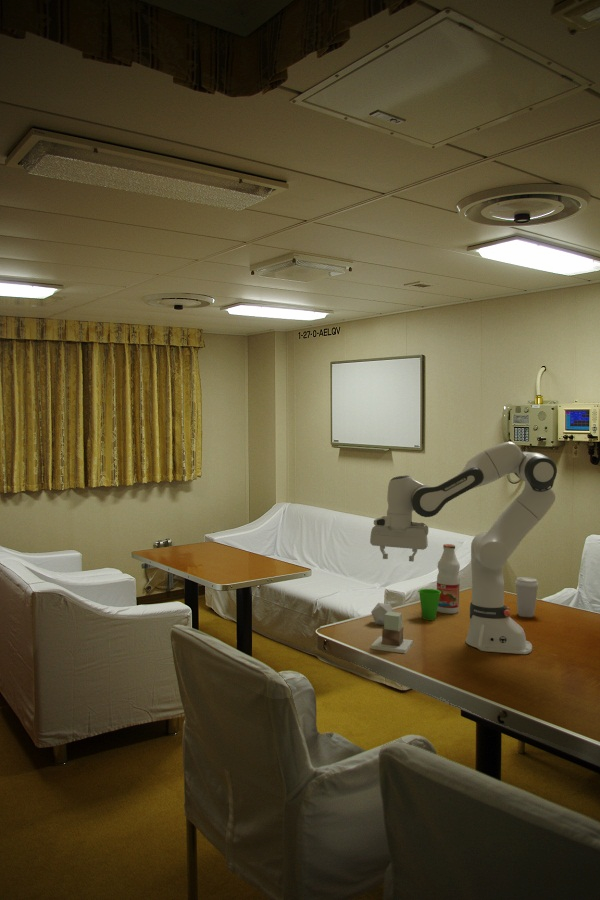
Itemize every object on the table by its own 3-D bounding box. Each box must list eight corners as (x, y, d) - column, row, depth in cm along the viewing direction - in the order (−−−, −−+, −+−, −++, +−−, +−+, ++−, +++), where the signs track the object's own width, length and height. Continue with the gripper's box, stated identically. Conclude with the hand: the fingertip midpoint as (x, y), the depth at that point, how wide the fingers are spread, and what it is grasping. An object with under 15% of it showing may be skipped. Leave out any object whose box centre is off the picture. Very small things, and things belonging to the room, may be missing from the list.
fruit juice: (463, 611, 284) (465, 545, 283) (451, 615, 277) (452, 547, 276) (443, 607, 290) (445, 542, 290) (431, 610, 284) (433, 544, 283)
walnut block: (403, 641, 236) (403, 627, 236) (399, 646, 230) (399, 631, 230) (386, 639, 238) (386, 624, 238) (382, 643, 232) (382, 629, 232)
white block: (380, 629, 256) (396, 609, 256) (364, 615, 260) (379, 595, 261) (386, 632, 263) (401, 612, 263) (370, 618, 267) (385, 599, 268)
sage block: (401, 627, 235) (401, 612, 235) (398, 630, 231) (398, 616, 231) (387, 625, 237) (387, 611, 237) (384, 629, 233) (384, 614, 233)
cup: (423, 614, 278) (424, 587, 278) (444, 618, 272) (444, 591, 272) (413, 618, 270) (414, 591, 270) (434, 622, 265) (435, 595, 265)
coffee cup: (511, 611, 285) (512, 576, 285) (535, 612, 284) (536, 577, 284) (516, 617, 276) (517, 581, 275) (540, 618, 274) (541, 582, 274)
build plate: (412, 643, 238) (413, 639, 238) (405, 653, 226) (405, 649, 226) (379, 639, 242) (379, 635, 242) (371, 648, 231) (371, 644, 231)
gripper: (430, 522, 238) (429, 561, 238) (374, 518, 245) (373, 556, 246) (426, 524, 232) (425, 564, 232) (369, 520, 240) (368, 558, 240)
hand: (398, 560), depth 239 cm, fingers open, 8 cm apart
